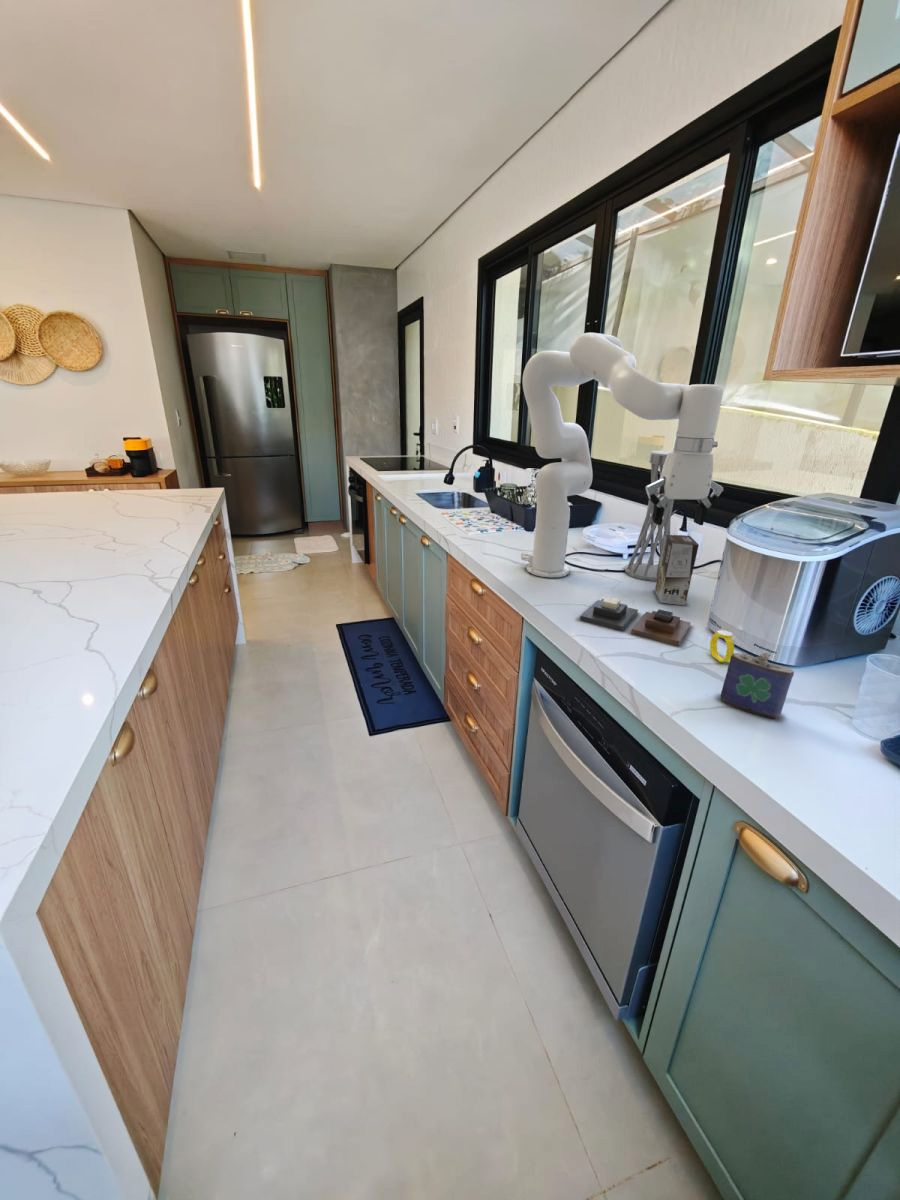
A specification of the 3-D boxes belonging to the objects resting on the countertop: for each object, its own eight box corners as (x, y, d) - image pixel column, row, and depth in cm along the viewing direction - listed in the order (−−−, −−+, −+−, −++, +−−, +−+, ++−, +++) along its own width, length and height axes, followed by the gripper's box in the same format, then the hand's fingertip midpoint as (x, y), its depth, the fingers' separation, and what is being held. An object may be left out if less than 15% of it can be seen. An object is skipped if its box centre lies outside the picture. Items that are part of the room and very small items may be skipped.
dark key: (653, 620, 113) (655, 613, 113) (657, 616, 116) (658, 609, 115) (668, 624, 112) (670, 617, 111) (672, 619, 114) (673, 612, 113)
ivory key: (601, 607, 119) (602, 601, 119) (606, 603, 122) (607, 596, 121) (615, 611, 118) (616, 604, 117) (619, 606, 120) (620, 600, 120)
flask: (780, 714, 85) (798, 658, 81) (778, 722, 83) (796, 665, 79) (721, 694, 90) (735, 641, 86) (717, 702, 88) (731, 647, 84)
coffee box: (686, 605, 128) (699, 544, 122) (659, 603, 129) (671, 542, 123) (678, 592, 137) (691, 535, 130) (653, 590, 138) (664, 533, 131)
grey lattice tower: (675, 571, 153) (699, 452, 140) (668, 584, 143) (694, 456, 129) (629, 563, 160) (648, 448, 146) (619, 575, 149) (639, 452, 135)
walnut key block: (631, 633, 113) (633, 621, 111) (645, 616, 122) (647, 604, 121) (678, 646, 107) (681, 633, 106) (689, 626, 117) (692, 615, 115)
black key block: (579, 620, 119) (581, 608, 118) (597, 604, 128) (598, 593, 127) (622, 631, 114) (624, 619, 112) (637, 614, 123) (639, 602, 122)
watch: (733, 666, 100) (741, 639, 98) (720, 666, 100) (727, 640, 97) (717, 652, 105) (723, 626, 103) (704, 652, 105) (710, 626, 103)
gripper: (721, 445, 113) (705, 520, 119) (646, 444, 112) (634, 519, 119) (741, 448, 106) (723, 528, 112) (661, 447, 105) (647, 527, 112)
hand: (677, 523), depth 116 cm, fingers open, 9 cm apart
